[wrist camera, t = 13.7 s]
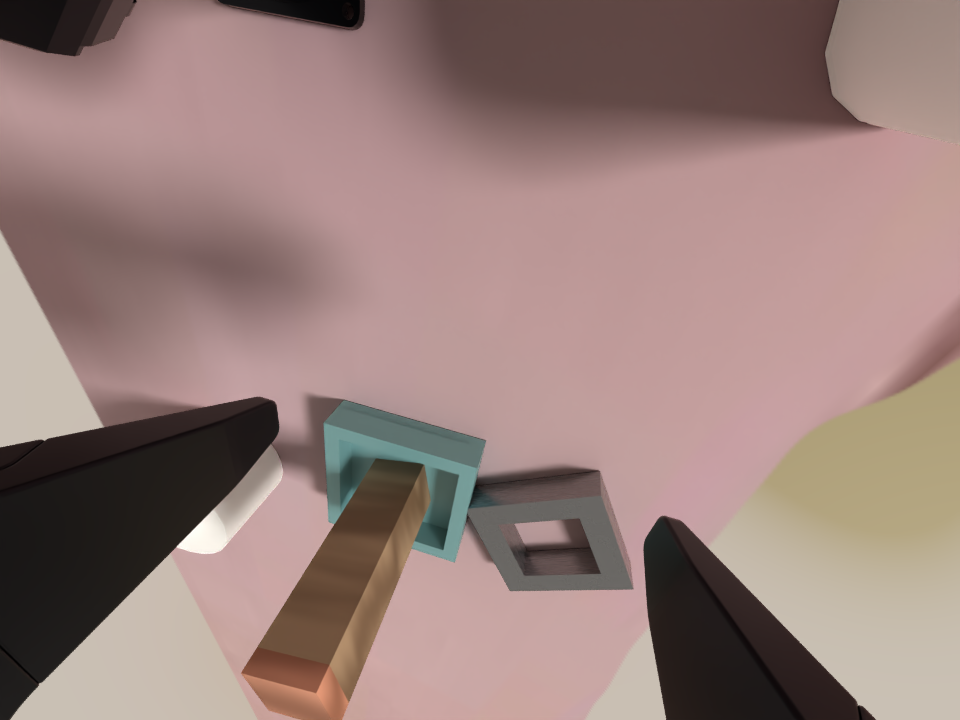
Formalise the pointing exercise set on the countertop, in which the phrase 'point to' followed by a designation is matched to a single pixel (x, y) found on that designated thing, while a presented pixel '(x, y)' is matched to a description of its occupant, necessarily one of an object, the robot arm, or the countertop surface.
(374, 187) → the countertop surface
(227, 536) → the cylinder with rectangular tab
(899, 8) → the foam cup
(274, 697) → the pin
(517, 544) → the grey square flat frame
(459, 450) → the tray
